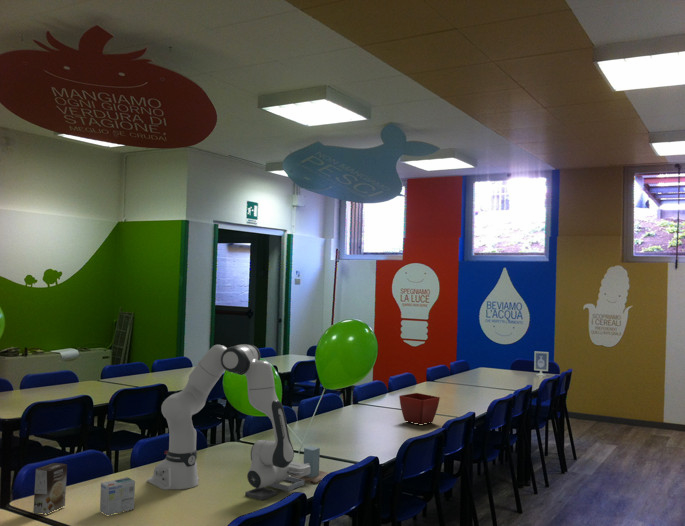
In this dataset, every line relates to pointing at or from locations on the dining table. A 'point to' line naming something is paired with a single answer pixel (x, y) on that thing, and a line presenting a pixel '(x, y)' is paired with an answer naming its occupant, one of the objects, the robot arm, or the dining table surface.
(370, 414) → the dining table surface
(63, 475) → the coffee box
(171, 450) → the robot arm
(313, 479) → the walnut board
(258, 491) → the tray
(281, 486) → the frame
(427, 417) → the plant pot
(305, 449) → the blue-grey block
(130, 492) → the light bulb box
